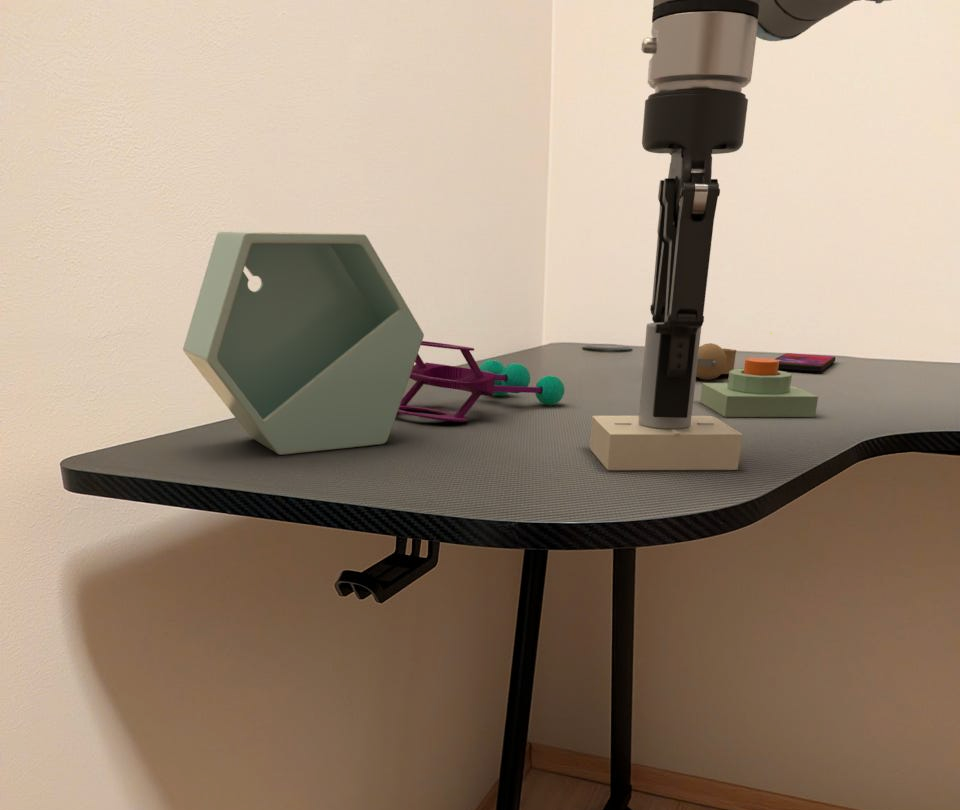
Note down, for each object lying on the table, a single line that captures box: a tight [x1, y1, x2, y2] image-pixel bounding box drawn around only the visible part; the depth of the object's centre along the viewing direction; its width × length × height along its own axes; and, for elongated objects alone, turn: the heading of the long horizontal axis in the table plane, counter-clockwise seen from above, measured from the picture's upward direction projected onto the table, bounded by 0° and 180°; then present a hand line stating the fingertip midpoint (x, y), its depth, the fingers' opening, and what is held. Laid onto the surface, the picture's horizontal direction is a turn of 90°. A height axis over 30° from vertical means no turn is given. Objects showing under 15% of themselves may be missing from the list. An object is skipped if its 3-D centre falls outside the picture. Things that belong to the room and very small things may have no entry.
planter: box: [182, 231, 425, 456], centre depth 79 cm, size 17×8×21 cm
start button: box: [743, 357, 779, 376], centre depth 100 cm, size 4×4×2 cm
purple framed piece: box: [397, 340, 565, 423], centre depth 98 cm, size 12×20×7 cm, turn 134°
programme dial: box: [638, 322, 702, 429], centre depth 76 cm, size 4×4×8 cm
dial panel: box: [589, 415, 743, 471], centre depth 78 cm, size 11×9×3 cm
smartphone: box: [775, 353, 837, 372], centre depth 136 cm, size 8×1×15 cm
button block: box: [699, 368, 819, 418], centre depth 101 cm, size 10×9×4 cm
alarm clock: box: [696, 342, 738, 381], centre depth 124 cm, size 11×5×15 cm
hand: (665, 410), depth 77 cm, fingers closed on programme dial, 4 cm apart
